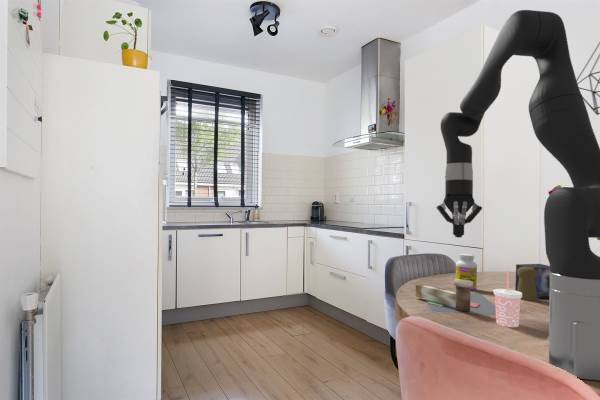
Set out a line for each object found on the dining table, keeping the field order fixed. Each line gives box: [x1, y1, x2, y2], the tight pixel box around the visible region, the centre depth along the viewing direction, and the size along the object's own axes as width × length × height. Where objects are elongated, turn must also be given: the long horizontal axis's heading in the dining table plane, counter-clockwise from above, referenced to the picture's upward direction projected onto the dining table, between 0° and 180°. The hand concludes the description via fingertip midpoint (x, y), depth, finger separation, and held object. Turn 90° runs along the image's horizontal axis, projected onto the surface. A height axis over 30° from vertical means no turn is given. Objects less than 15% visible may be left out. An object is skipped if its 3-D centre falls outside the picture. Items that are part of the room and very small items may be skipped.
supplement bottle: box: [455, 253, 478, 291], centre depth 126 cm, size 7×7×13 cm
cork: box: [517, 267, 539, 302], centre depth 112 cm, size 6×6×11 cm
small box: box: [514, 263, 550, 300], centre depth 120 cm, size 11×6×10 cm, turn 105°
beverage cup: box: [493, 270, 522, 328], centre depth 88 cm, size 6×6×14 cm
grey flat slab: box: [424, 291, 496, 316], centre depth 108 cm, size 24×19×2 cm
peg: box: [415, 278, 473, 311], centre depth 103 cm, size 17×5×8 cm, turn 33°
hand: (458, 237), depth 108 cm, fingers closed
